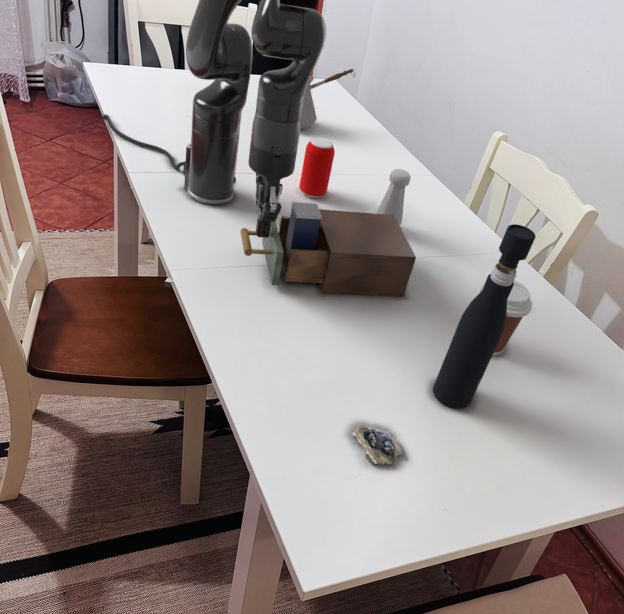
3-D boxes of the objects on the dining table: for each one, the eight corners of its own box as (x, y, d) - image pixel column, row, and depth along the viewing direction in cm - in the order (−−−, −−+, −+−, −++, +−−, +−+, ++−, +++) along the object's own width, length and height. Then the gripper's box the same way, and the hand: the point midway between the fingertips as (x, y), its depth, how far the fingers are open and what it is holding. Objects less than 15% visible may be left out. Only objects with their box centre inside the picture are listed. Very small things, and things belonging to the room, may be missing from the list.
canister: (287, 266, 119) (296, 214, 112) (283, 252, 122) (292, 201, 115) (311, 267, 120) (321, 216, 114) (307, 253, 123) (317, 203, 117)
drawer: (243, 284, 114) (247, 250, 109) (236, 241, 124) (240, 209, 119) (350, 288, 120) (359, 256, 115) (335, 247, 129) (342, 216, 125)
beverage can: (320, 203, 144) (330, 151, 137) (294, 193, 145) (302, 141, 137) (329, 192, 149) (340, 142, 141) (304, 183, 150) (313, 133, 142)
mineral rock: (380, 475, 89) (384, 466, 88) (338, 439, 92) (341, 429, 91) (410, 451, 93) (414, 442, 92) (369, 418, 97) (372, 409, 95)
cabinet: (321, 293, 118) (331, 252, 113) (307, 248, 129) (315, 208, 123) (403, 296, 123) (416, 257, 117) (383, 252, 134) (394, 214, 128)
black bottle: (429, 378, 106) (492, 215, 87) (466, 382, 107) (537, 222, 89) (436, 407, 101) (504, 241, 83) (475, 411, 103) (551, 248, 84)
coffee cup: (459, 323, 120) (481, 268, 113) (506, 332, 121) (531, 279, 113) (463, 355, 113) (487, 299, 106) (514, 364, 114) (541, 310, 106)
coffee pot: (282, 134, 168) (291, 74, 159) (264, 115, 175) (272, 57, 166) (353, 133, 178) (366, 77, 169) (334, 115, 185) (344, 61, 176)
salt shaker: (396, 237, 140) (413, 181, 131) (371, 229, 140) (385, 173, 132) (400, 225, 144) (417, 170, 136) (375, 217, 144) (390, 162, 136)
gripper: (246, 122, 109) (236, 215, 119) (256, 157, 99) (245, 255, 110) (290, 127, 111) (277, 217, 122) (304, 162, 101) (289, 257, 112)
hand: (262, 235), depth 116 cm, fingers closed
